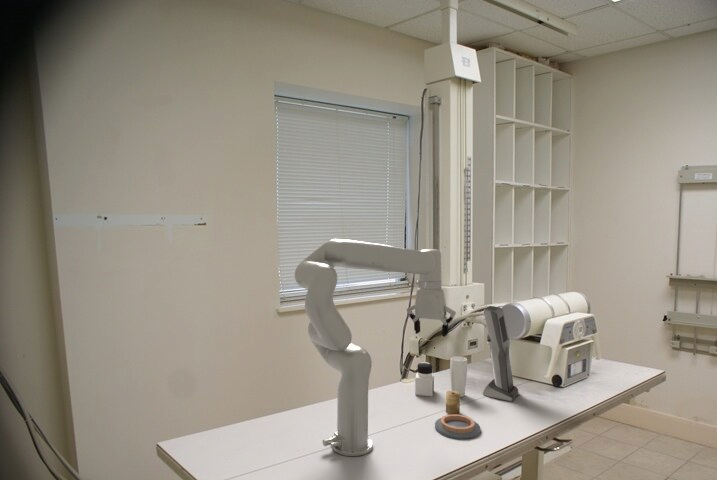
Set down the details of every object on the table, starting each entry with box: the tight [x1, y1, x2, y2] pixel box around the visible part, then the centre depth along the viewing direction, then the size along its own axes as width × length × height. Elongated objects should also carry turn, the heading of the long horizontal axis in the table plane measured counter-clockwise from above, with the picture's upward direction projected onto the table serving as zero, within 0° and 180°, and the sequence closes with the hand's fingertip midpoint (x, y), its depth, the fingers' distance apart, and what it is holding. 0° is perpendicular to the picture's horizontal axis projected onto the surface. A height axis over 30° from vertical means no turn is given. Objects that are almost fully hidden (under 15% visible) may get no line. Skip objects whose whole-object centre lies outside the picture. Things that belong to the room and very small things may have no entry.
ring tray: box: [434, 414, 481, 440], centre depth 155 cm, size 15×15×2 cm
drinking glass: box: [449, 355, 468, 398], centre depth 184 cm, size 7×7×15 cm
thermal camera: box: [482, 305, 519, 403], centre depth 185 cm, size 12×13×35 cm
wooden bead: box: [445, 390, 461, 415], centre depth 168 cm, size 5×5×7 cm
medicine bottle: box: [414, 362, 435, 397], centre depth 187 cm, size 7×7×12 cm
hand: (431, 334), depth 158 cm, fingers open, 9 cm apart
